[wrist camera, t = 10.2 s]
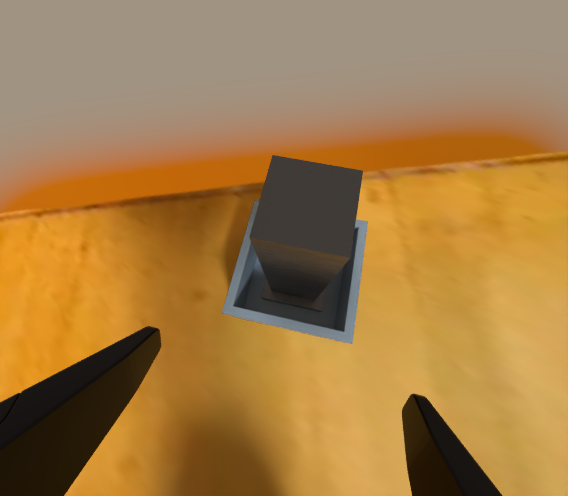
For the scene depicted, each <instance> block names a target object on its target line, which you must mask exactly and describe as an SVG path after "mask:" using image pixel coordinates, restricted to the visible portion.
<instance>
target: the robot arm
mask: <svg viewBox="0 0 568 496" xmlns="http://www.w3.org/2000/svg"><path fill="white" fill-rule="evenodd" d="M160 348H161V337H160V330H159V329H158V328H154V327H150V326H148V327H145V328H143V329H141V330H139V331H137V332H135V333H133V334H131V335H130V336H128V337H126V338H124V339H122V340H120V341H118V342H116V343H114V344H112V345H110V346H108V347H106V348H104V349H103V350H101V351H99V352H97V353H95V354H93V355H91V356H89V357H87V358H85V359H83V360H81V361H79V362H77V363H76V364H74V365H72V366H70V367H68V368H66V369H64V370H62V371H60V372H58V373H56V374H54V375H52V376H50V377H49V378H47V379H45V380H43V381H41V382H39V383H37V384H35V385H33V386H31V387H29V388H27V389H25V390H23V391H22V392H21V393H17V394H16V395H14V396H12V397H10V398H8V399H6V400H4V401H2V402H0V496H64V495H65V494H66V492H67V491H68V489H69V488H70V486H71V485H72V484H73V482H74V481H75V479H76V478H77V476H78V475H79V473H80V472H81V471H82V469H83V468H84V466H85V465H86V463H87V462H88V461H89V459H90V458H91V456H92V455H93V453H94V452H95V450H96V449H97V448H98V446H99V445H100V443H101V442H102V440H103V439H104V438H105V436H106V435H107V433H108V432H109V430H110V429H111V427H112V426H113V425H114V423H115V422H116V420H117V419H118V417H119V416H120V414H121V413H122V412H123V410H124V409H125V407H126V406H127V404H128V403H129V402H130V400H131V399H132V397H133V396H134V394H135V393H136V391H137V389H138V388H139V386H140V384H141V383H142V381H143V379H144V377H145V375H146V374H147V372H148V370H149V368H150V367H151V365H152V363H153V361H154V360H155V358H156V356H157V354H158V352H159V351H160ZM402 421H403V431H404V442H405V452H406V462H407V470H408V475H409V481H410V486H411V491H412V496H502V494H501V493H500V492H499V491H498V489H497V488H496V487H495V485H494V484H493V483H492V482H491V480H490V479H489V478H488V476H487V475H486V474H485V473H484V471H483V470H482V469H481V467H480V466H479V465H478V464H477V462H476V461H475V460H474V458H473V457H472V456H471V454H470V453H469V452H468V451H467V449H466V448H465V447H464V445H463V444H462V443H461V442H460V440H459V439H458V438H457V436H456V435H455V434H454V433H453V431H452V430H451V429H450V427H449V426H448V425H447V424H446V422H445V421H444V420H443V418H442V417H441V416H440V415H439V413H438V412H437V411H436V409H435V408H434V407H433V406H432V404H431V403H430V402H429V400H428V399H427V398H426V397H424V396H421V395H417V394H411V395H410V397H409V398H408V400H407V402H406V403H405V405H404V407H403V409H402Z"/></svg>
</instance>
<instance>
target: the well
mask: <svg viewBox="0 0 568 496" xmlns="http://www.w3.org/2000/svg"><path fill="white" fill-rule="evenodd" d="M258 205H259V201H257V200H255V202H254V205H253V209H252V212H251V215H250V219H249V222H248V226H247V229H246V233H245V236H244V239H243V243H242V246H241V250H240V253H239V256H238V260H237V263H236V267H235V270H234V273H233V277H232V280H231V284H230V287H229V290H228V294H227V297H226V301H225V304H224V307H223V311H222V313H223V314H226V315H230V316H233V317H237V318H241V319H245V320H249V321H254V322H258V323H262V324H266V325H271V326H275V327H279V328H284V329H288V330H292V331H296V332H301V333H305V334H309V335H313V336H318V337H322V338H326V339H330V340H335V341H339V342H345V343H351V344H352V342H353V334H354V326H355V319H356V311H357V303H358V295H359V287H360V279H361V271H362V264H363V256H364V248H365V240H366V232H367V224H368V222H367V221H362V220H356V222H355V229H354V236H353V243H352V250H351V257H350V259H349V260H348V261H347V263H346V264H345V265H344V266H343V267H342V269H341V270H340V271H339V272H338V274H337V275H336V276H335V277H334V278H333V280H332V281H331V282H330V283H329V284H328V286H327V287H326V293H325V299H324V305H323V311H322V312H318V311H313V310H309V309H304V308H300V307H295V306H291V305H286V304H282V303H278V302H273V301H269V300H264V299H262V298H261V295H262V291H263V287H264V283H265V279H266V276H265V274H264V272H263V269H262V267H261V264H260V262H259V260H258V257H257V255H256V252H255V250H254V247H253V245H252V243H251V240H250V238H249V236H250V233H251V229H252V226H253V222H254V219H255V215H256V212H257V208H258Z"/></svg>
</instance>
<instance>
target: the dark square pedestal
mask: <svg viewBox="0 0 568 496" xmlns="http://www.w3.org/2000/svg"><path fill="white" fill-rule="evenodd" d="M362 174H363V171H361V170H356V169H349V168H344V167H338V166H332V165H326V164H321V163H315V162H309V161H303V160H298V159H292V158H286V157H280V156H274V155H273V156H272V159H271V163H270V166H269V170H268V174H267V177H266V180H265V184H264V187H263V191H262V194H261V198H260V201H259V205H258V208H257V212H256V215H255V219H254V222H253V226H252V229H251V233H250V236H249V238H250V240H251V243H252V245H253V247H254V250H255V252H256V255H257V257H258V260H259V262H260V264H261V267H262V269H263V272H264V274H265V276H266V279H265V283H264V287H263V291H262V295H261V298H262V299H264V300H269V301H273V302H278V303H282V304H286V305H291V306H295V307H300V308H304V309H309V310H313V311H318V312H322V311H323V305H324V299H325V293H326V287H327V286H328V284H329V283H330V282H331V281H332V280H333V278H334V277H335V276H336V275H337V274H338V272H339V271H340V270H341V269H342V267H343V266H344V265H345V264H346V263H347V261H348V260H349V259H350V257H351V250H352V243H353V236H354V229H355V222H356V215H357V208H358V201H359V194H360V188H361V181H362Z"/></svg>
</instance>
